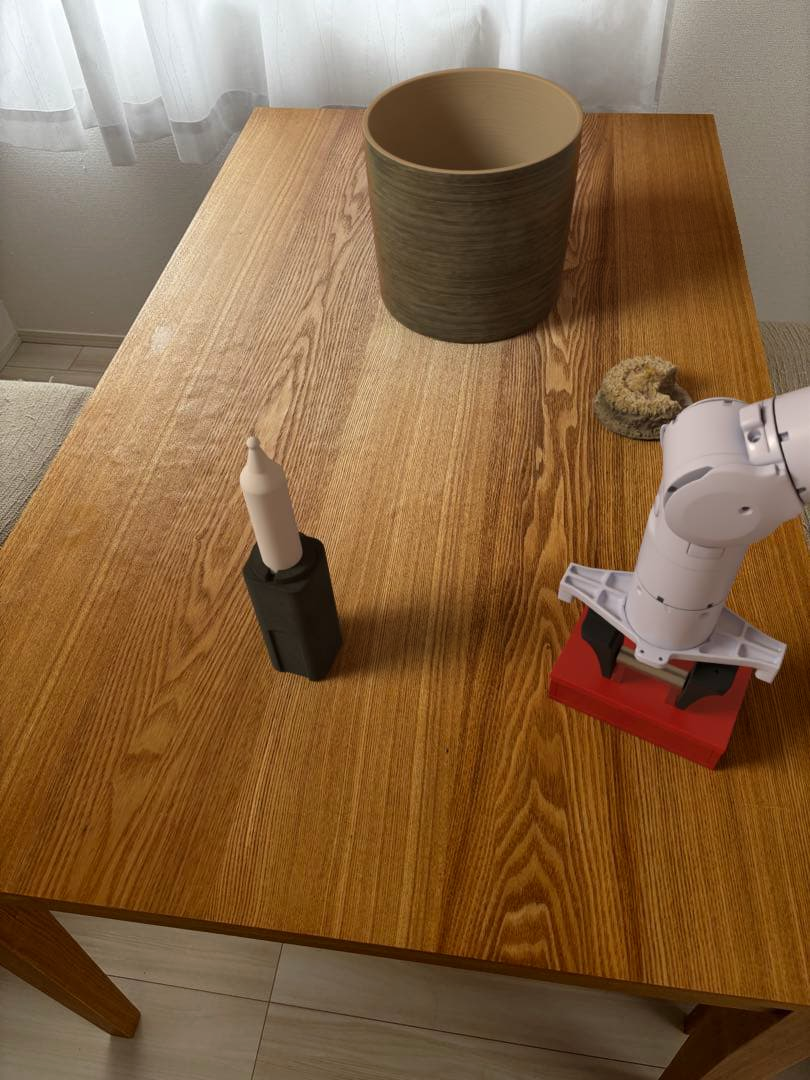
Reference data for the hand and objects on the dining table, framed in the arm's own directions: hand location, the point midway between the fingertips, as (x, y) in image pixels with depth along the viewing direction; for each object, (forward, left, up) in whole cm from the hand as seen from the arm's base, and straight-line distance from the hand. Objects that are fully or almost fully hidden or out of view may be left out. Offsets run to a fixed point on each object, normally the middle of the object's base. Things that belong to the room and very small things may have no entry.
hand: (645, 682), depth 63 cm
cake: (+11, -33, -5) cm, 35 cm away
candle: (+26, +7, -5) cm, 27 cm away
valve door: (0, -3, -2) cm, 3 cm away
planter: (+36, -44, -5) cm, 57 cm away
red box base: (0, -3, -5) cm, 6 cm away
